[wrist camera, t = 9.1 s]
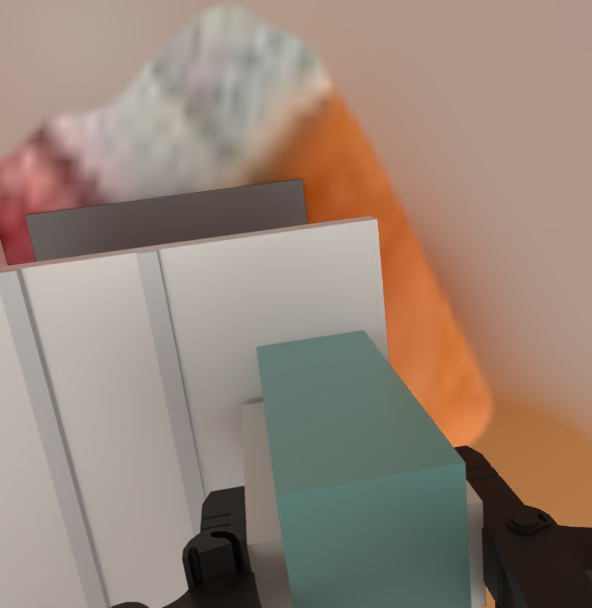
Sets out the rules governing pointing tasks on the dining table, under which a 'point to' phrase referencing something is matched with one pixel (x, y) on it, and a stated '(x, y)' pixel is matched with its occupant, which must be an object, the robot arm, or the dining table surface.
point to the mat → (166, 220)
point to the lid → (218, 423)
